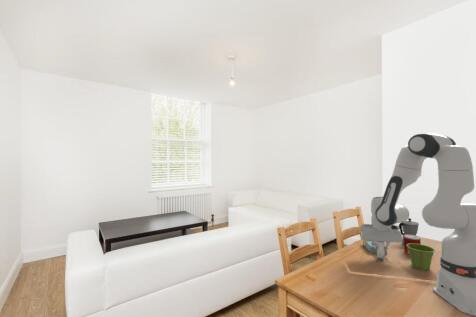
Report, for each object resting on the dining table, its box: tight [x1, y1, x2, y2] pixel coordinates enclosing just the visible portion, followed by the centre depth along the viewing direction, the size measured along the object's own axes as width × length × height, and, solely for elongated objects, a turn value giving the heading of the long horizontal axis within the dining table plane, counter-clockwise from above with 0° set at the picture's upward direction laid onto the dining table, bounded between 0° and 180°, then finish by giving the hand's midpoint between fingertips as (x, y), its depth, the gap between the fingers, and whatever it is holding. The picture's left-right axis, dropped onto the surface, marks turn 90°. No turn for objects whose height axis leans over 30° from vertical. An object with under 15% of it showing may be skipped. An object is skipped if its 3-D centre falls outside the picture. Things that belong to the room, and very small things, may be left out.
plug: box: [376, 241, 386, 258], centre depth 130 cm, size 4×4×10 cm
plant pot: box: [407, 243, 436, 271], centre depth 121 cm, size 12×12×11 cm
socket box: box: [362, 239, 388, 255], centre depth 145 cm, size 16×9×5 cm, turn 165°
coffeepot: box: [398, 217, 420, 246], centre depth 153 cm, size 15×9×18 cm, turn 103°
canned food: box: [403, 235, 422, 256], centre depth 138 cm, size 8×8×11 cm
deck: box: [370, 253, 391, 264], centre depth 131 cm, size 10×7×1 cm
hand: (380, 248), depth 130 cm, fingers closed on plug, 4 cm apart
